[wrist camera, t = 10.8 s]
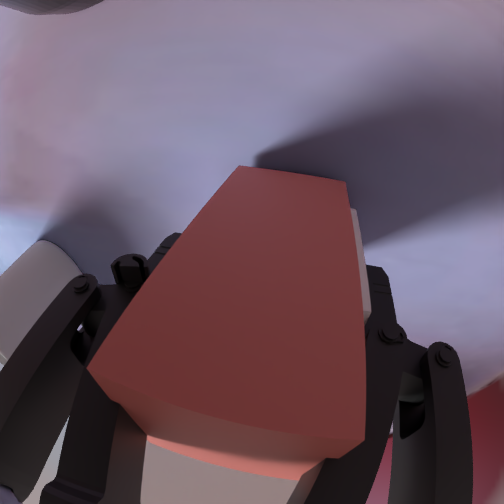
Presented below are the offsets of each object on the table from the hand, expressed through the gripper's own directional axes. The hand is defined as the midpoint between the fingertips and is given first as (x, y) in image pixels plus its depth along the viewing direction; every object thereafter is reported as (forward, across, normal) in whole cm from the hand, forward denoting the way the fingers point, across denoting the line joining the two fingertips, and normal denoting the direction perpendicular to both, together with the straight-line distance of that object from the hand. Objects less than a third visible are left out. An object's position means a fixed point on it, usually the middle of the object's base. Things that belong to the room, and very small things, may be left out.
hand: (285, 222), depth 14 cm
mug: (+1, -22, -11) cm, 25 cm away
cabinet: (+1, -2, -25) cm, 25 cm away
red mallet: (0, 0, -8) cm, 8 cm away
